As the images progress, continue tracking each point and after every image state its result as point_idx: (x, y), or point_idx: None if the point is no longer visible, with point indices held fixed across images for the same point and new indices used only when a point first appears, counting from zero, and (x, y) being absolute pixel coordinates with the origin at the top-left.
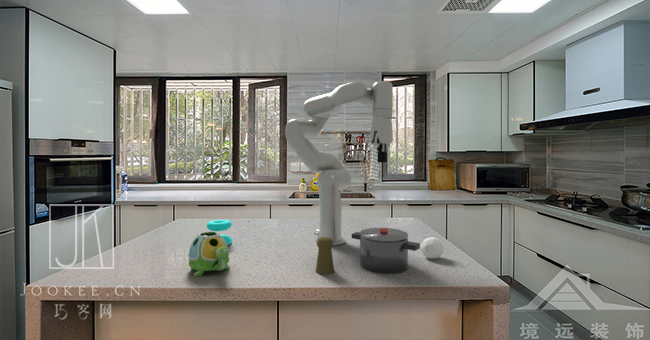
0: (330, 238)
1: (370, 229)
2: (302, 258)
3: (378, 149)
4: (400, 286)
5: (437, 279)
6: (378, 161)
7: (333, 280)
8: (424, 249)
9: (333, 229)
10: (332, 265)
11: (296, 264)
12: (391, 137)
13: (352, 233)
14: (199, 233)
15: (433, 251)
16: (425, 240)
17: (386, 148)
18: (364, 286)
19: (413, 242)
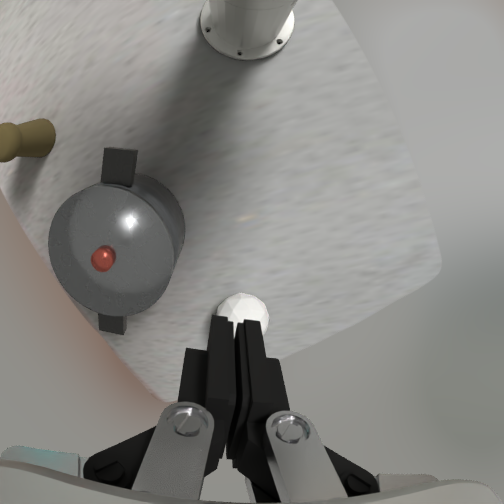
0: (2, 155)
1: (121, 205)
2: (80, 45)
3: (136, 447)
4: (61, 287)
5: (125, 332)
6: (210, 326)
7: (17, 179)
8: (219, 308)
9: (220, 26)
10: (34, 156)
11: (44, 64)
12: None
13: (108, 148)
14: None
15: None
16: (232, 318)
17: (256, 502)
18: (28, 237)
19: (120, 322)
